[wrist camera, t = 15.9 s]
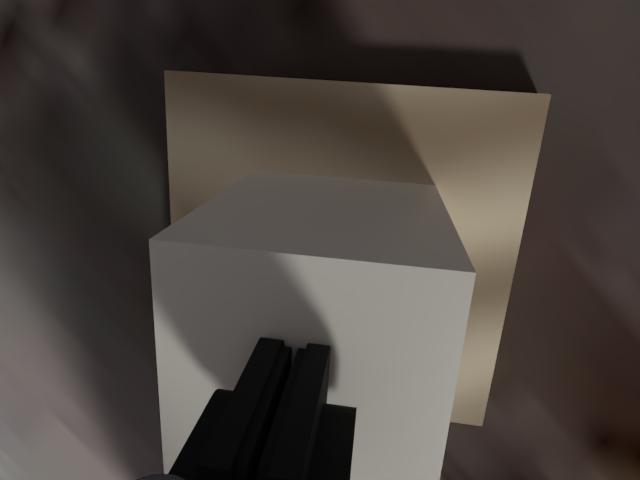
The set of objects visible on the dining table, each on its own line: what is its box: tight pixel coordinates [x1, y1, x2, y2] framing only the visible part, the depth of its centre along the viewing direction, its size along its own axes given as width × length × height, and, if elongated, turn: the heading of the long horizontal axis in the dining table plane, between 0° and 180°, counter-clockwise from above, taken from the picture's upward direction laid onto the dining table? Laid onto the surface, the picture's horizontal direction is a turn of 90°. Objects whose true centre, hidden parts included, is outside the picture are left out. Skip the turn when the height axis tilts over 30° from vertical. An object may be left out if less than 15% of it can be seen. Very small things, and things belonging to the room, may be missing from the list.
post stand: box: [164, 70, 551, 426], centre depth 17 cm, size 14×14×8 cm
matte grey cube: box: [149, 170, 476, 480], centre depth 15 cm, size 7×7×9 cm
